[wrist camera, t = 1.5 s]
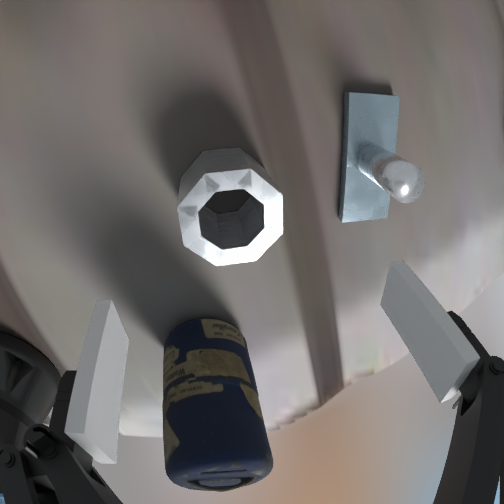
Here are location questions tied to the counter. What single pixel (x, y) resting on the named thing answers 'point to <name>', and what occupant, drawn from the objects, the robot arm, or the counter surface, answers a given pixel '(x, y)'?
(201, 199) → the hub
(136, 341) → the counter surface
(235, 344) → the canister
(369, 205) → the shaft stand
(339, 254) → the counter surface
